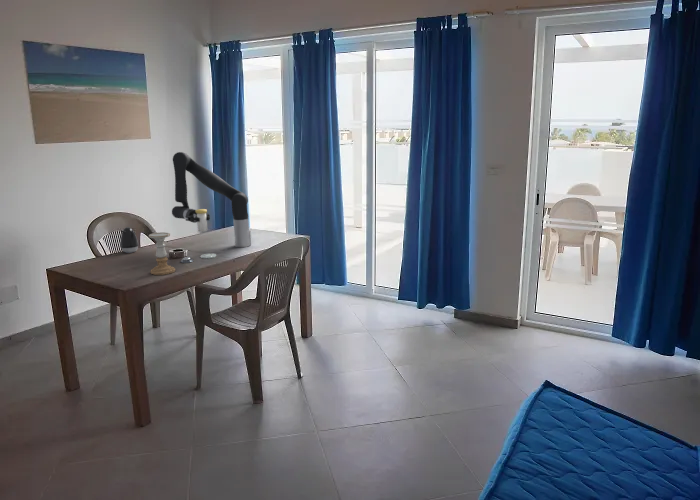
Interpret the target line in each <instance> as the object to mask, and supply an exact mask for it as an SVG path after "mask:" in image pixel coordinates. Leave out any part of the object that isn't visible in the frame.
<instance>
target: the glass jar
mask: <svg viewBox="0 0 700 500" xmlns="http://www.w3.org/2000/svg"><path fill="white" fill-rule="evenodd" d="M194 210H195V211H196V213H197V217H198V218H199V219H200V222H198V221H197V222H196V223H197V232H199V233H200V232H201V233H203V232H207V231H208V220H207V217H206V213H207V214H208V210H207V208H206V209H205V208H199V209H194Z"/></svg>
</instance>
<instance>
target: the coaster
mask: <svg viewBox="0 0 700 500" xmlns="http://www.w3.org/2000/svg"><path fill="white" fill-rule="evenodd" d="M216 257H217V254H216V253H203V254H201V255H200V259H212V258H216Z"/></svg>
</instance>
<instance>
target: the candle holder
mask: <svg viewBox="0 0 700 500" xmlns="http://www.w3.org/2000/svg"><path fill="white" fill-rule="evenodd" d="M170 236H171V233H169V232H153V233H150V234H148V238H150V239H154V240H155V242H156V244H155V245H154V247H155V248H156V253H155V257H157V258H156V259H155V261H156V262H157V265H156V266H154V267H153V268H152V269H151V270H150V274H151V275H154V276H164V275H170V274H173V273H175V272H176V268H175V267H174V266H171V265H169V264H168V262H167V261H169V258H168V257H167V255H168V253H167V251H166V243H165V240H166V239H167V238H168V237H170Z"/></svg>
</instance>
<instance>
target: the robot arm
mask: <svg viewBox="0 0 700 500" xmlns="http://www.w3.org/2000/svg"><path fill="white" fill-rule="evenodd" d="M172 164H173V169H174V181H175V182H174V185H175V186H174V196H175V197H174V199H175V202H176V203H180V204H182V206H181V205H176V206H173V208H172V209H171V215H172V216H173V217H174V218H176V219H181V220H182V219H184V220H185V221H187V222H191V223H194V224H195V223H197V221H198V222H200V219H199V218H198V217H197V213H196V211H195V210H196V209H194V208H190V206H189V202H188V185H187V179H186V178H187V177H186V173H187V172H188V173H190V174H191V175H193V176H194V177H195V178H196V179H197V180H198V181H199V182H200V183H201V184H203V185H204V186H205V187H207V188H208V189H210V190H211V191H213V192H215V193H217V194H220V195H223V196H224V197H226V198H227V199H229V200H230V201H231V210H232V211H231V213H232V216H233V220H232V221H233V232H234V235H233V237H234V246H235V247H236V248H246V247H249V246H252V235H251V234H252V233H251V230H250V226H249V225H250V224H249V223H250V222H249V214H248V202H249V199H248V196H247V194H245V193H244V192H242V191H240V190H238V189H237V188H235V187H233V186H231V185H230V184H229V183H228V182H226V181H225V180H224V179H222V178H221V177H220V176H219V175H217V174H216V173H214V172H213V171H211V170H209V168H206V167H204V166H203V165H201V164H199V163H198V162H197V161H195V160H194V159H193V158H192V157H191V156H189V155H188V154H187V153H185V152H183V151H179V152H178V151H177V152H176V153H175V154H173V156H172ZM206 217H207V221H210V219H211V218H210V217H211V216H210V214H209V213H208V212H207V213H206Z"/></svg>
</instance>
